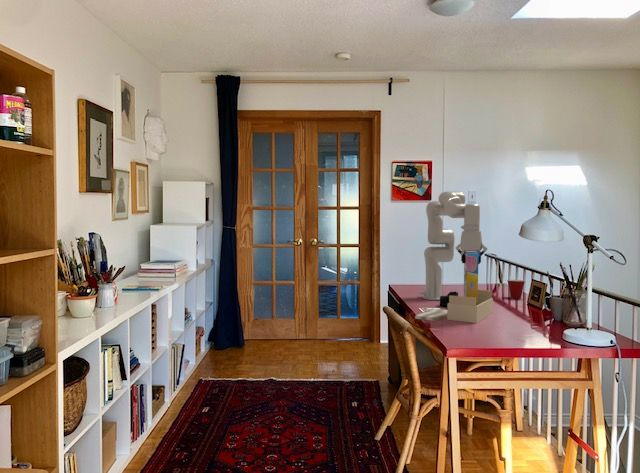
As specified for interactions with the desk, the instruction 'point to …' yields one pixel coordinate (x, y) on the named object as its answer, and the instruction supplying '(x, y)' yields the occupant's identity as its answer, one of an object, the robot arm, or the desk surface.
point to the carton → (470, 307)
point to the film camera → (446, 299)
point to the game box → (471, 275)
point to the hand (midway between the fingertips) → (471, 263)
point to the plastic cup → (516, 288)
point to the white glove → (432, 315)
